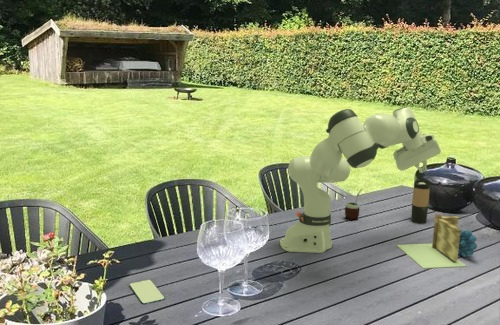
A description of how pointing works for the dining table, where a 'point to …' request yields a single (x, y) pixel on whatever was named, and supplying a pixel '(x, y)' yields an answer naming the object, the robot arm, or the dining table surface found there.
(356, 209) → the mate gourd
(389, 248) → the dining table surface
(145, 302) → the smartphone
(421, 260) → the board
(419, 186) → the travel mug
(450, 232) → the gate panel
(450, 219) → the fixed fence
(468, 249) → the grapes
